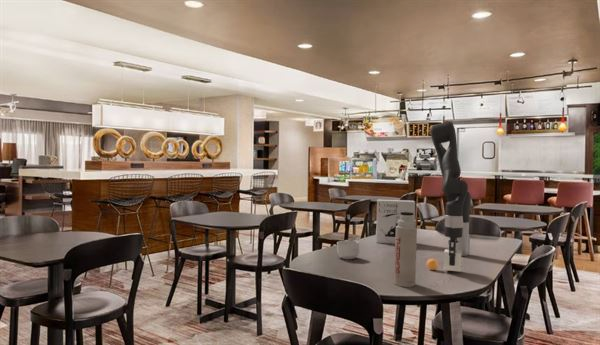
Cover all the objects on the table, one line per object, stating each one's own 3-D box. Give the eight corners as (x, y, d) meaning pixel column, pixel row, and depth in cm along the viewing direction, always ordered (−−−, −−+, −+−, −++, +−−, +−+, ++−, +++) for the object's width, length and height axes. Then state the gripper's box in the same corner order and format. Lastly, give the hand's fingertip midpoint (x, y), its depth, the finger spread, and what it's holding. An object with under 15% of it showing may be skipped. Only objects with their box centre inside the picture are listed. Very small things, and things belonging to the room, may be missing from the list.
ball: (433, 268, 204) (433, 257, 204) (440, 270, 200) (440, 259, 200) (424, 269, 202) (424, 257, 202) (431, 271, 198) (431, 260, 198)
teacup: (357, 261, 215) (358, 244, 215) (335, 259, 218) (335, 243, 217) (359, 255, 229) (360, 239, 229) (338, 254, 231) (338, 238, 231)
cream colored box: (460, 268, 200) (461, 250, 200) (460, 271, 193) (460, 253, 193) (444, 266, 202) (445, 249, 202) (443, 269, 196) (444, 251, 196)
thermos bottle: (397, 286, 172) (399, 213, 171) (391, 281, 180) (393, 210, 179) (418, 286, 173) (420, 213, 172) (411, 281, 181) (413, 211, 180)
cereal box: (376, 242, 266) (377, 200, 265) (376, 240, 274) (377, 199, 273) (413, 244, 262) (415, 201, 262) (412, 242, 270) (414, 200, 269)
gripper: (445, 223, 205) (444, 259, 206) (443, 227, 192) (442, 266, 192) (463, 224, 203) (462, 261, 203) (462, 228, 189) (461, 268, 190)
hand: (452, 263), depth 198 cm, fingers closed on cream colored box, 7 cm apart
